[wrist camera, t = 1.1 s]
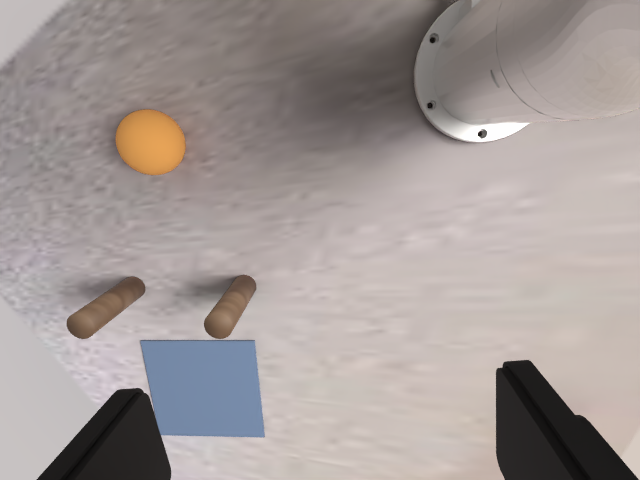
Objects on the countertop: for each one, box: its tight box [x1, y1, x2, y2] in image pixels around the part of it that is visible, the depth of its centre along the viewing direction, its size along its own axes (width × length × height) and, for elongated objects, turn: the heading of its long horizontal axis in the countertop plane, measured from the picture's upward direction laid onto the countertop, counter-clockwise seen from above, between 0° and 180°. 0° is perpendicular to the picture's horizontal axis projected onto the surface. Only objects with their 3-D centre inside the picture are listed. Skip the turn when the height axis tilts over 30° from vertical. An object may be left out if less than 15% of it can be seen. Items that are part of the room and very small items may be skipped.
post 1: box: [67, 277, 145, 339], centre depth 38 cm, size 3×3×9 cm
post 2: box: [204, 275, 256, 339], centre depth 37 cm, size 3×3×9 cm
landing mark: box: [141, 340, 265, 437], centre depth 46 cm, size 14×14×1 cm
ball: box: [116, 109, 186, 175], centre depth 35 cm, size 6×6×6 cm
